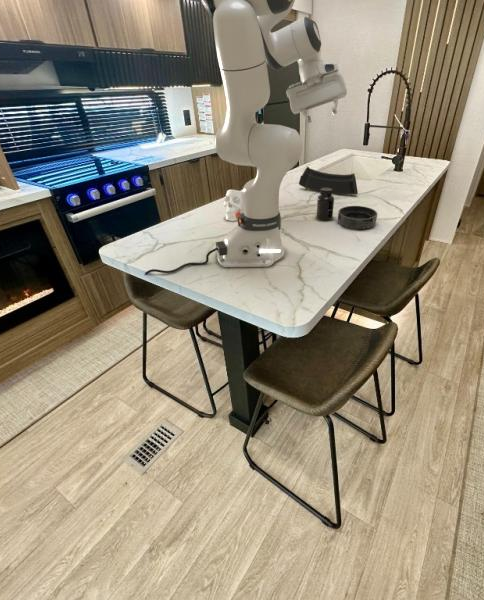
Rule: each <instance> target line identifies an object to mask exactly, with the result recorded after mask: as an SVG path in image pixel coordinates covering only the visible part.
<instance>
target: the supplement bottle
mask: <svg viewBox="0 0 484 600" xmlns="http://www.w3.org/2000/svg"><path fill="white" fill-rule="evenodd" d="M332 191H333V190H332V189H331V188H321V190H320V192H319V195H318V196H317V198H316V200H317V201H316V219H317V220H319V221H323V222H327V221H332V219H333V218H334V209H335V208H334V207H335V206H334V205H335V197H334V195H333V194H332Z"/></svg>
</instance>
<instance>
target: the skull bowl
mask: <svg viewBox="0 0 484 600" xmlns="http://www.w3.org/2000/svg"><path fill="white" fill-rule="evenodd" d="M223 207H225V208H226V210H225V220H226V221H230V222H235V221H238V219H237V218H236V216H235V213H236V212H238V211H239V212H240V213H241V214H242V213H243V212H244V211H243V199H242V191H240V190H237V189H228V190H226V194H225V197H224V202H223Z"/></svg>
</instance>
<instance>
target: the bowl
mask: <svg viewBox="0 0 484 600" xmlns="http://www.w3.org/2000/svg"><path fill="white" fill-rule="evenodd" d="M378 215H379V214H378V212H377V210H375V209H373V208H372V207H367V206H363V205H347V206H343V207H341V208H339V209H338V212H337V222H338V223H339V225H341V226H343V227H346V228H350V229H355V230H361V229H363V230H364V229H371V228H373V227H374V226H375V225H376V224H377V219H378Z"/></svg>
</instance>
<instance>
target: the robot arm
mask: <svg viewBox="0 0 484 600" xmlns="http://www.w3.org/2000/svg"><path fill="white" fill-rule="evenodd" d="M200 1H201V4H202V5H203V7H204V9H205V10H206V12H207V13H208V14H209V15H210V17H211V19H212V23H213V35H214V42H215V45H214V46H215V51H216V57H217V62H218V66H219V67H218V68H219V70H220V75H221V81H222V85H223V91H224V96H225V103H226V107H225V108H226V110H225V117H224V119H223V122H222V123H221V125H220V126H219V127H218V128H217V130H216V132H215V136H214V148H215V152H216V154H217V156H218V157H219V158H220V159H221V160H222V161H224V162H227V163H230V164H233V165H236V166H245V167H254V168H256V176H255V177H254V178H252V179H250V180H248V181H247V182H246V183H244V185H243V187H242V189H241V192H242V199H243V211H244V212H243V213H242V214H241V213H240V212H239V211H238V212H236V213H235V216H236V218H237V219H238V220H237V225H236V226H235V227H234V228H233V229H231V230H230V231H228V233H226V235H225V236H224V239H223V240H220V241H216V242H215V248H213V249H210V250H209V251H208V253H206V254H205V255H206V256H205V261H203V262H187V263H184V264H182V265H180V266H178V267H177V268H174V269H171V270H162V269H157V268H156V269H155V268H151V269H149V270H147V271H146V272H145V273H144V276H147V275H149V274H150V273H152V272H153V273H154V272H155V273H162V274H172V273H175V272H176V273H177V272H178V271H179V270H182V269H184V268H185V267H188V266H202V265H206V264H208V263H209V260H210V259H209V258H210V255H211V254H212V253H214V252H217V253H216V256H217V261H218V263H219V265H220V266H222V267H224V268H259V267H260V268H262V267H263V268H266V267H267V268H268V267H271V266H272V265H274V263H275V262H277V261H279V260H281V259H282V258H283V257H284V255H285V253H286V252H285V250H284V246H283V242H282V237H281V227H282V218H281V217H282V216H281V212H280V205H279V204H280V202H279V201H280V189H281V184H282V181H283V180H284V178H285V176H286V175H287V173H288V172H290V170H291V169H293V168H294V167H295V166H296V165H298V163H299V161H300V159H301V157H302V155H303V142H302V138H301V136H300V134H299V132H298V131H297V129H295V128H292V127H289V126H285V125H283V124H282V125H281V124H275V123H273V124H272V123H258V122H257V119H256V113H257V112H259V111H260V110H262V109H263V108H264V107H265V106H266V105H267V104H268V102H269V100H270V96H271V85H270V80H269V79H270V78H269V71H268V67H269V68H270V69H272V70H274V71H276V72H279V71H281V70H282V69H284V68H286V67H287V66H289V65H291V64H294V63H295V62H297V64H298V74H299V77H300V81H298V82H295V83H293V84H290V85H289V87H287V89H286V93H285V94H286V97H287V99H288V100H289V106H290V111H291V112H292V113H293V114H294V115H298V114H302V116H303V117H304V118H305V119H306V122H307V124H310V123H312V118H311V115H308V114H307V111H309V110H312V109H315V108H317V107H320V106H323V105H325V104H329V103H332V102H333V104H334V105H333V107H331V110H332V115H336V114H338V110H337V108H338V105H339V100H341V99H343V98H345V97H346V96H347V93H348V90H347V85H346V82H345V78H344V77H343V74H342V73H341V72H339V66H338V64H337V63H335V62H331V63H326V62H324V60H323V59H322V55H321V54H322V50H321V48H322V40H321V35H320V31H319V27H318V24H317V23H316V21H315V20H313V19H311V18H310V17H307V16H303V17H300V18H299V19H296V20H295V21H293V22H291V23H290V24H287V25H286V26H284V27H282V28H280V29H277V30H276V31H273V32H272V29H273V28H275V26H276V25H277V24H279V23H280V22H281V21H282V20H284V19H285V18H287V16H288V15H289V14H290V12H291V11H292V9H293V7H294V4H295V2H296V0H200Z"/></svg>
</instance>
